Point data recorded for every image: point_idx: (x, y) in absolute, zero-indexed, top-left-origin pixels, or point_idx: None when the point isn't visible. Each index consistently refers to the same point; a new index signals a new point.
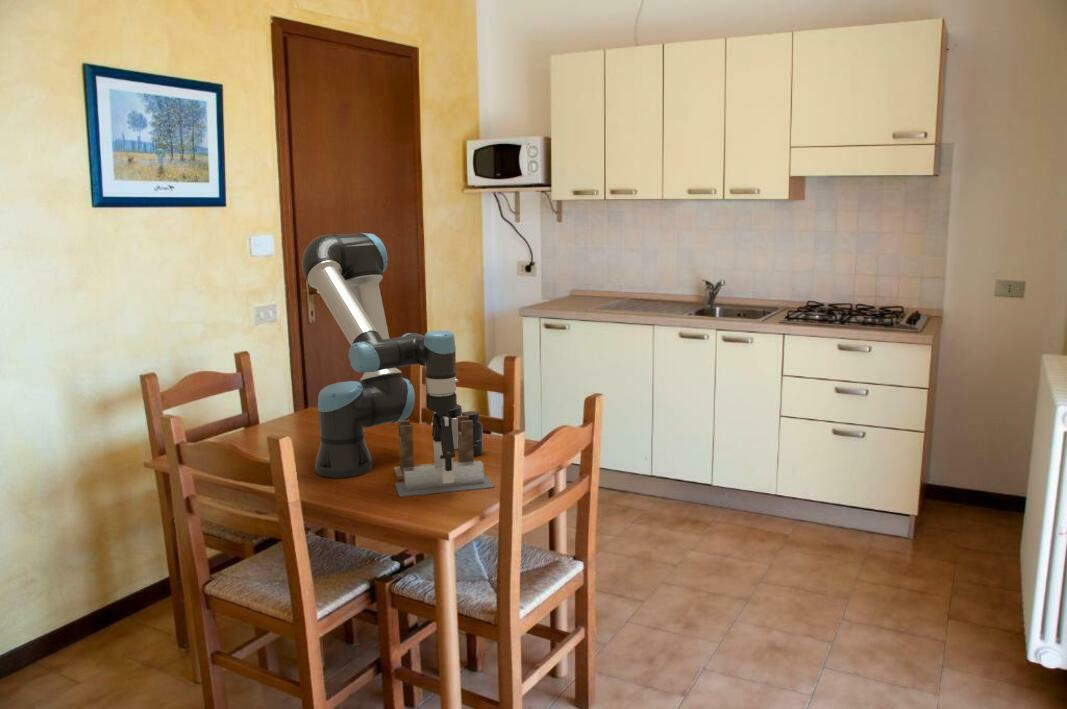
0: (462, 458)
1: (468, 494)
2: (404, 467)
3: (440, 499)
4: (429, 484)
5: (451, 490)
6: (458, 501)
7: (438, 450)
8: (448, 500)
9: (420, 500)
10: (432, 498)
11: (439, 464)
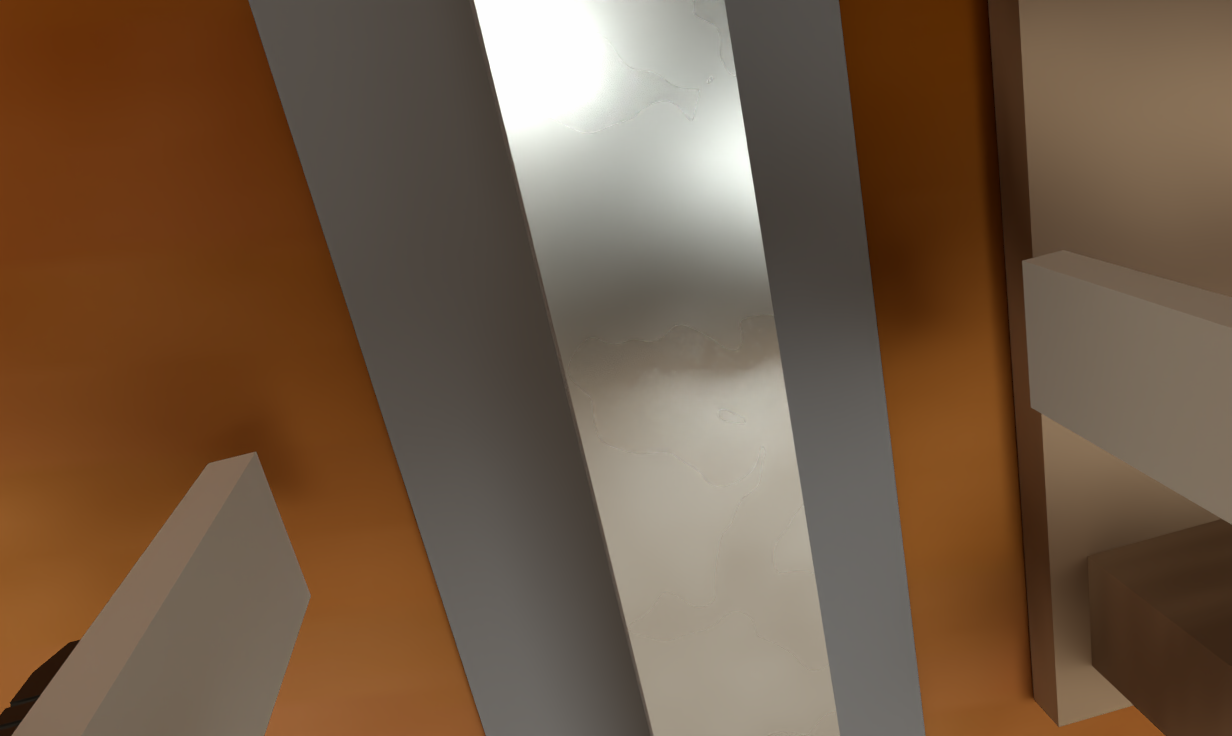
0: (1187, 634)
1: (325, 664)
2: None
3: (125, 367)
4: (519, 200)
5: (419, 481)
6: (70, 584)
7: (1220, 411)
8: (95, 468)
9: (58, 94)
10: (156, 259)
11: (1040, 339)
